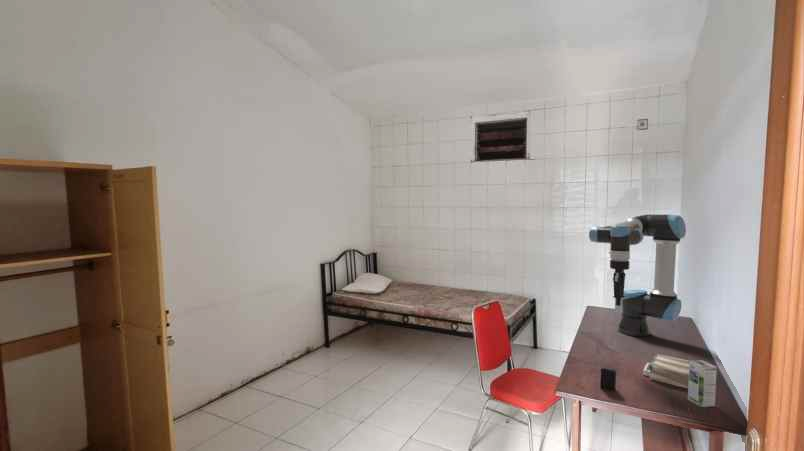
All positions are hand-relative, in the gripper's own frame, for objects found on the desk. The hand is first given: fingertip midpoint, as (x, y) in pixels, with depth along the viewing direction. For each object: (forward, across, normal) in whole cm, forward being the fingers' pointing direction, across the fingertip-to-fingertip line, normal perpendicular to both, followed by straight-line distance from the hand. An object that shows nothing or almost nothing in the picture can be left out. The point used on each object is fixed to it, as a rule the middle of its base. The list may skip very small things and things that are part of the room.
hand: (618, 312), depth 173 cm
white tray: (+23, +4, +18) cm, 30 cm away
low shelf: (+22, +4, +21) cm, 31 cm away
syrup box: (+23, +22, +31) cm, 44 cm away
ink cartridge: (+23, +31, +3) cm, 38 cm away
